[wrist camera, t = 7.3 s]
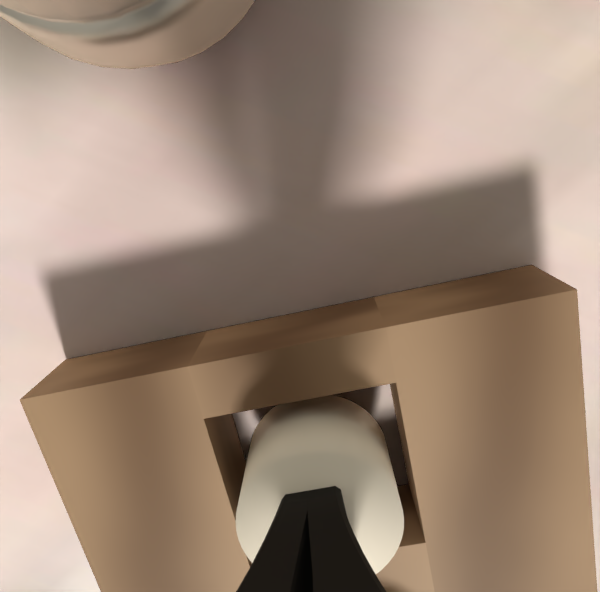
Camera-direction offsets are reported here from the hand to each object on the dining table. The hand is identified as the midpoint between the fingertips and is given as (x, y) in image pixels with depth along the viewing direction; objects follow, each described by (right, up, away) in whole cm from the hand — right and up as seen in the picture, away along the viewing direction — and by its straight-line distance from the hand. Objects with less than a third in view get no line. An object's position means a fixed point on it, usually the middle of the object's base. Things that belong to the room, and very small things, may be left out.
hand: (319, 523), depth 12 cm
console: (+2, -5, +6) cm, 8 cm away
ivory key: (0, +1, +3) cm, 3 cm away
